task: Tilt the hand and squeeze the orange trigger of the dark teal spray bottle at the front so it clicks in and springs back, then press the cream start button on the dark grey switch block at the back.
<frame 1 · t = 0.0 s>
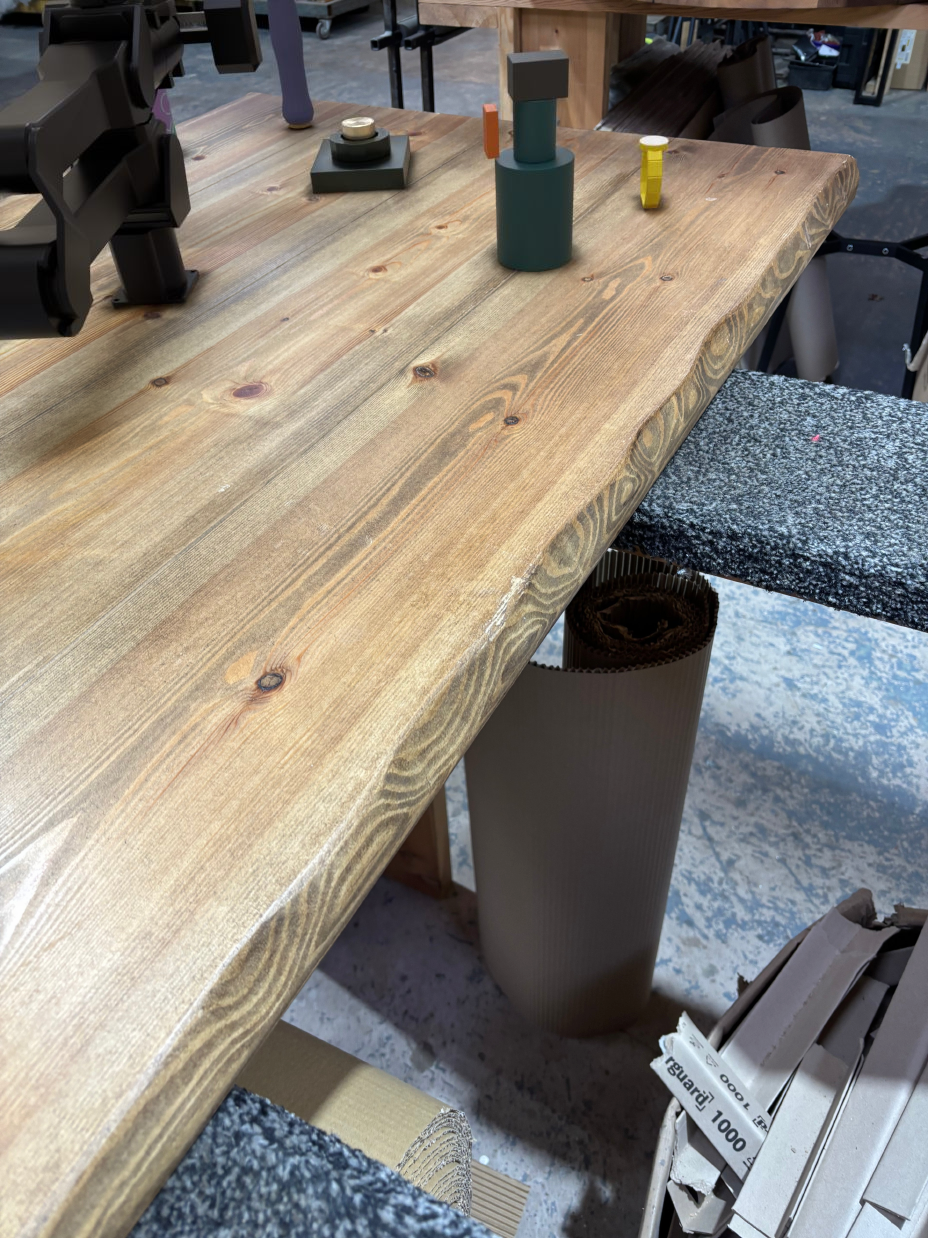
hand: (175, 18, 91), 17 cm above the table, tool horizontal, fingers open, 9 cm apart
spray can: (159, 159, 113), on the table
switch block: (363, 173, 105), on the table
spray bottle: (534, 256, 85), on the table
start button: (358, 130, 102), point 4 cm above the table, slide at 0.1 cm
trigger: (490, 130, 78), point 11 cm above the table, slide at -0.1 cm
purple vase: (300, 128, 120), on the table
watch: (648, 205, 93), on the table
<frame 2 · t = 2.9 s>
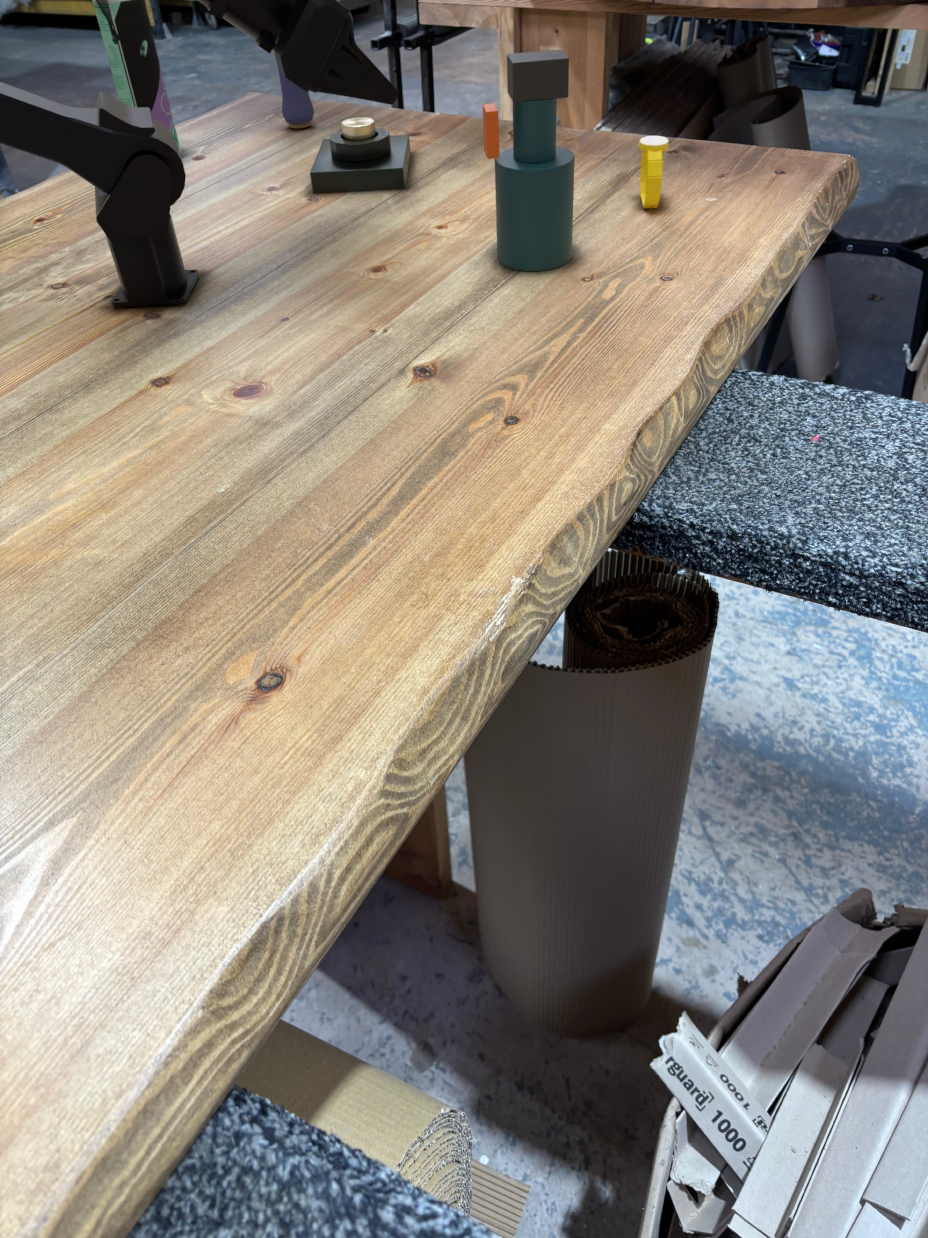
hand: (382, 85, 78), 14 cm above the table, tool tilted 50°, fingers open, 9 cm apart
nothing on the table moved.
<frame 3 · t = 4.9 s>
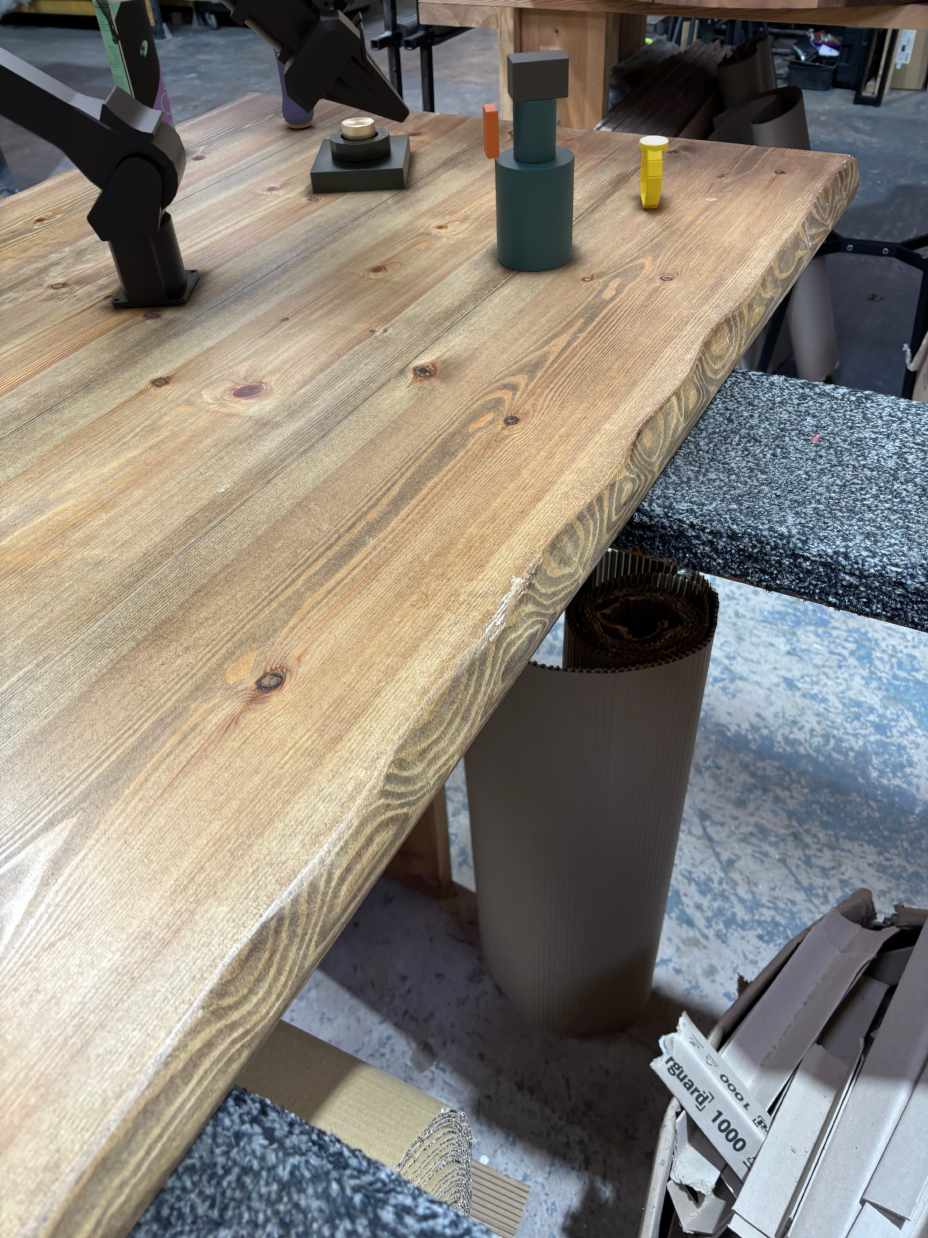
hand: (406, 116, 76), 12 cm above the table, tool tilted 45°, fingers closed
nothing on the table moved.
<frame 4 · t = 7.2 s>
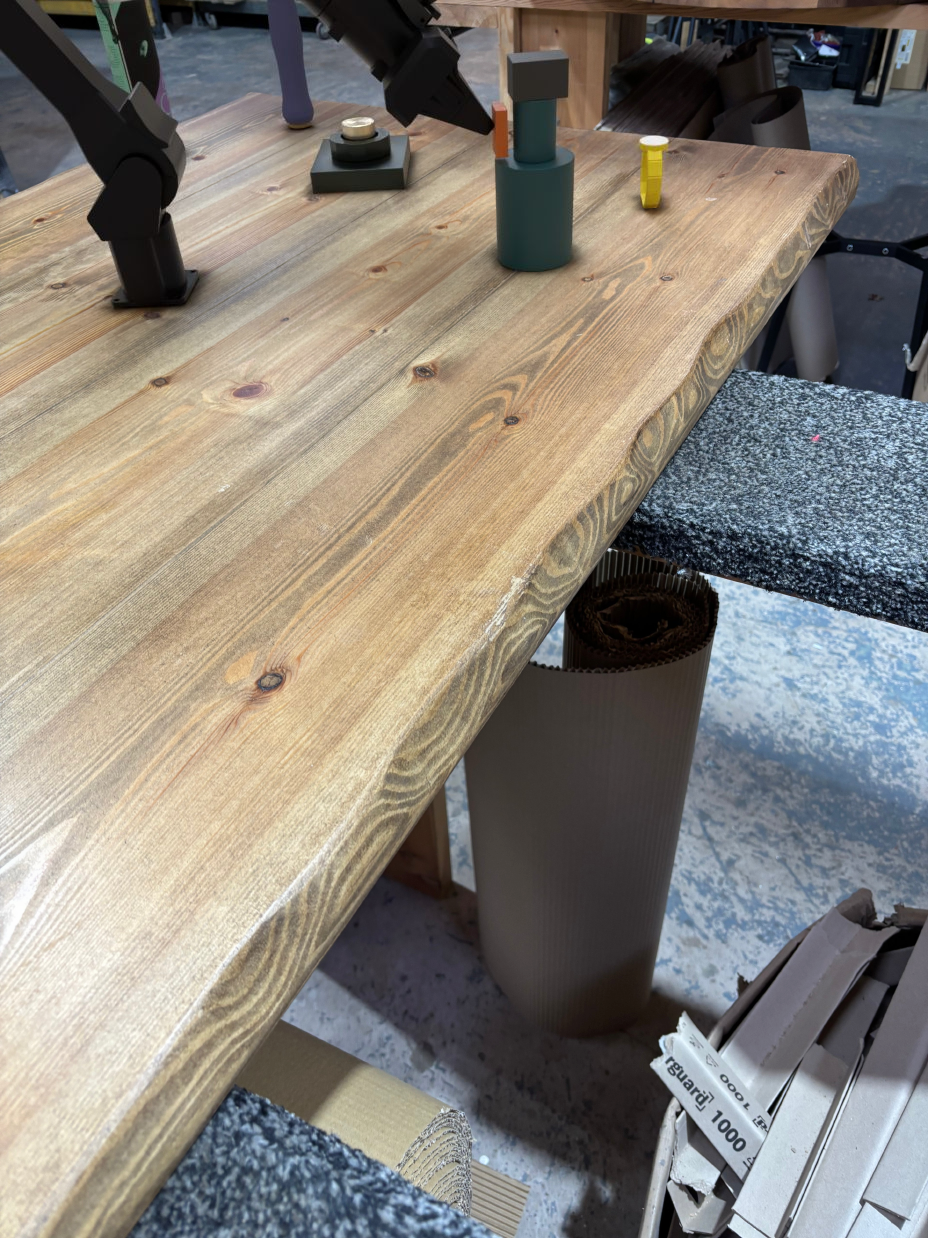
hand: (490, 129, 77), 11 cm above the table, tool tilted 45°, fingers closed, pressing on trigger
trigger: (499, 130, 78), point 11 cm above the table, slide at 0.7 cm, touching gripper
everything else where it was.
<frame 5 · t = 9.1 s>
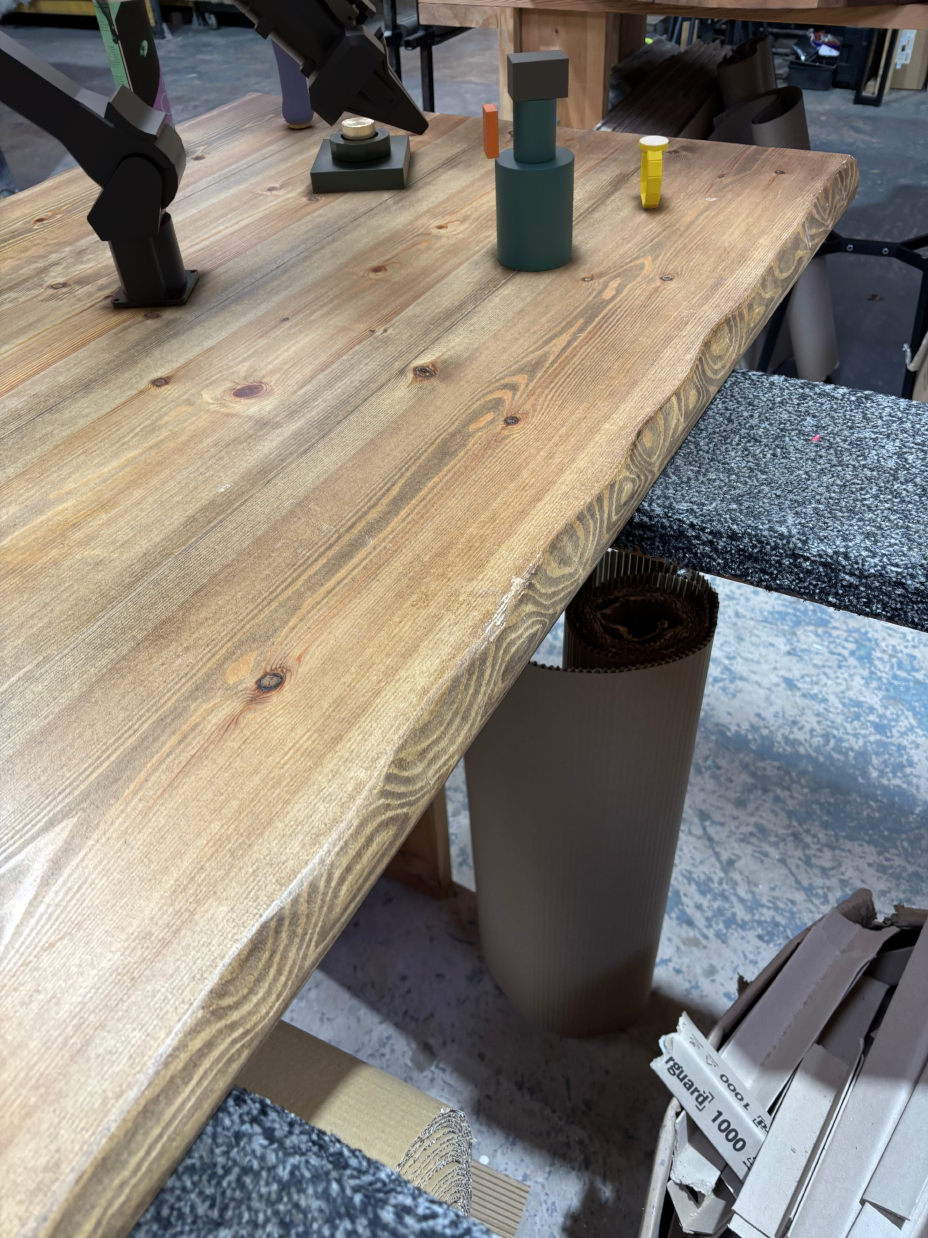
hand: (425, 129, 77), 11 cm above the table, tool tilted 45°, fingers closed
trigger: (490, 130, 78), point 11 cm above the table, slide at -0.1 cm
everything else where it was.
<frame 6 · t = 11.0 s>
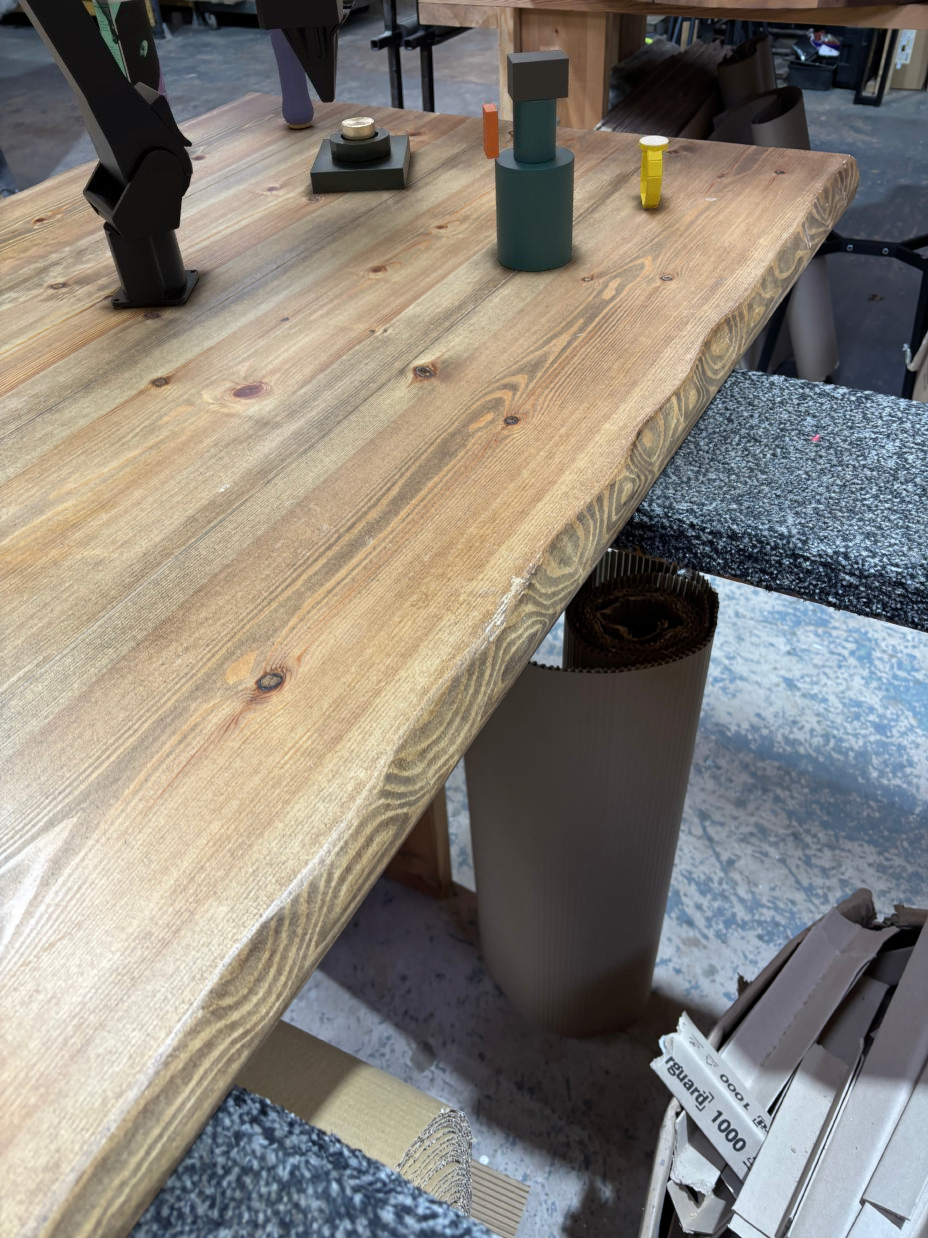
hand: (328, 101, 82), 12 cm above the table, tool pointing down, fingers closed
nothing on the table moved.
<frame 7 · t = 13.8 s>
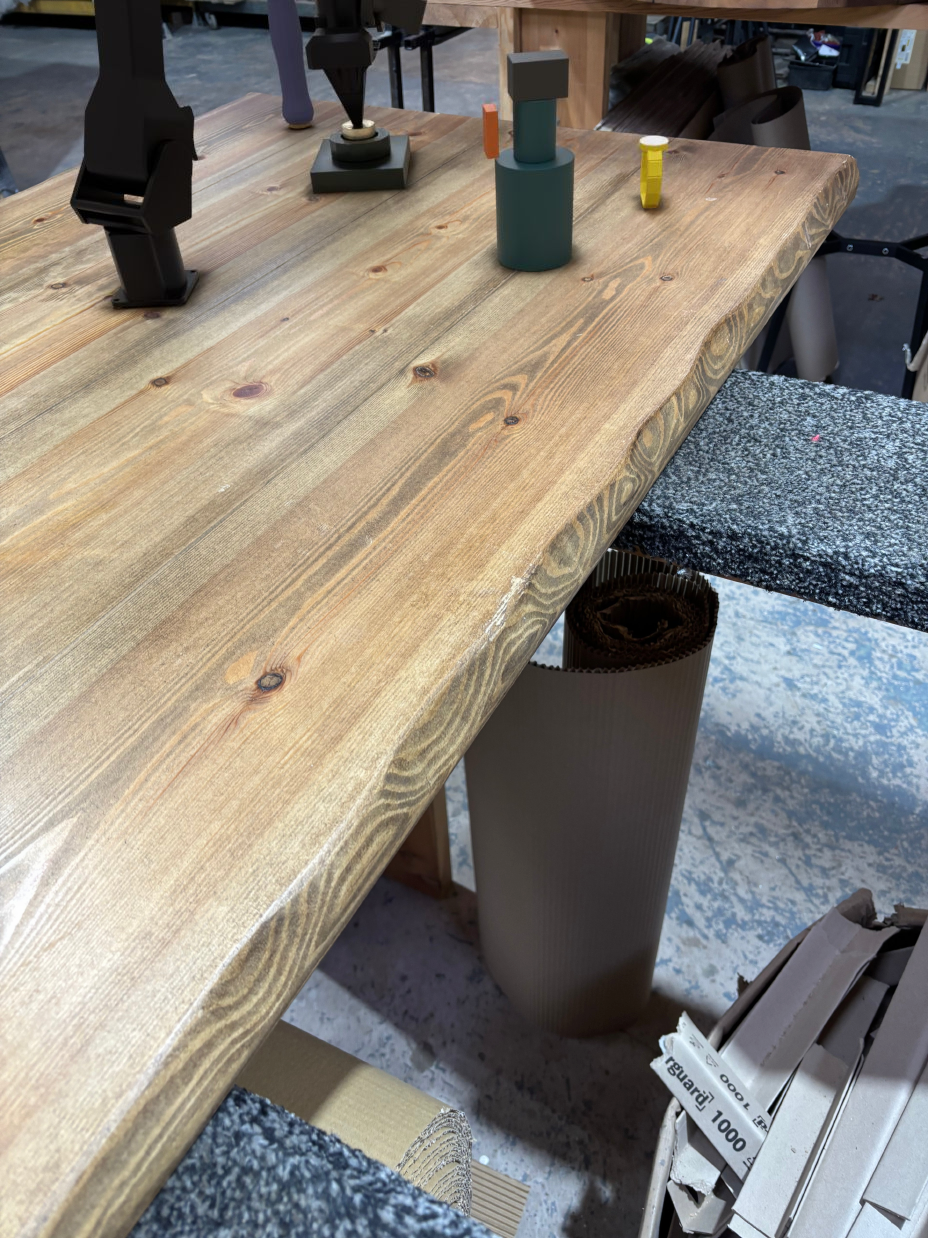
hand: (357, 123, 101), 5 cm above the table, tool pointing down, fingers closed, pressing on start button
start button: (359, 132, 102), point 4 cm above the table, slide at -0.2 cm, touching gripper
everything else where it was.
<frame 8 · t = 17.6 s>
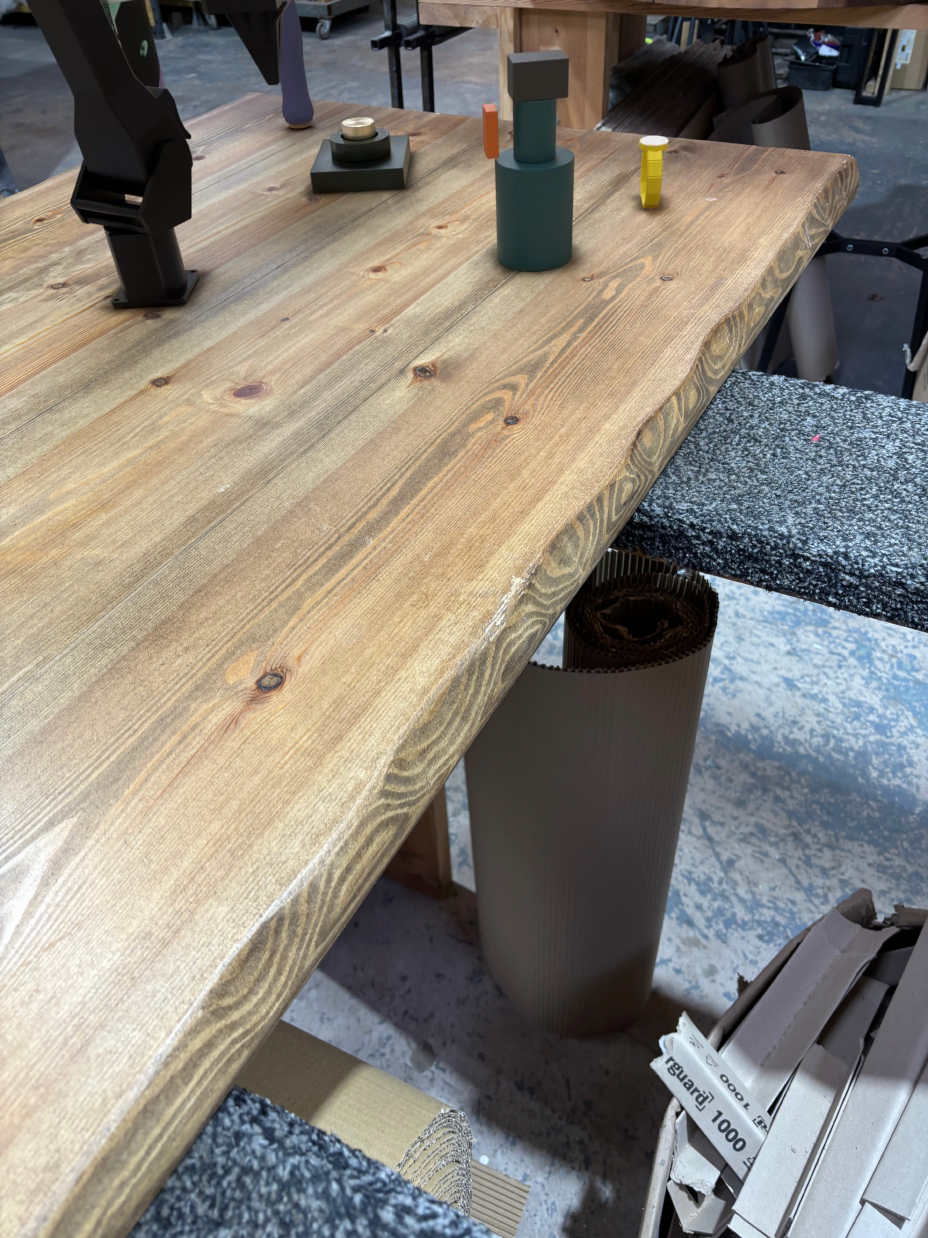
hand: (274, 83, 88), 12 cm above the table, tool pointing down, fingers closed
start button: (358, 130, 102), point 4 cm above the table, slide at 0.1 cm
everything else where it was.
at the end: trigger pulled out 1.3 cm at the most during the clip, back to where it started at the end; trigger slide at -0.1 cm; start button pushed in 1.1 cm at the most during the clip, back to where it started at the end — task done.
